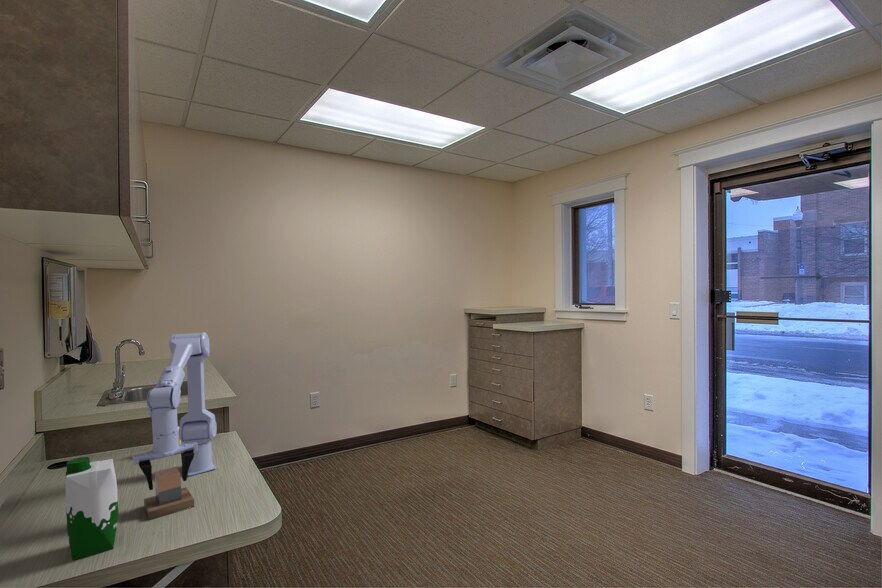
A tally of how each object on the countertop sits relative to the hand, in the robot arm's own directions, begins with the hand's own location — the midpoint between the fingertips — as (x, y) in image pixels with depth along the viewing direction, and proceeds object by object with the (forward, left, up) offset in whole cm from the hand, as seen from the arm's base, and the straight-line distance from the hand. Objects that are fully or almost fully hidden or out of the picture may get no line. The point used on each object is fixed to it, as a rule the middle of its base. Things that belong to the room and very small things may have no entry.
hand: (168, 484), depth 120 cm
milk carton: (+11, -16, -6) cm, 20 cm away
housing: (0, 0, -4) cm, 4 cm away
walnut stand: (0, 0, -6) cm, 6 cm away
